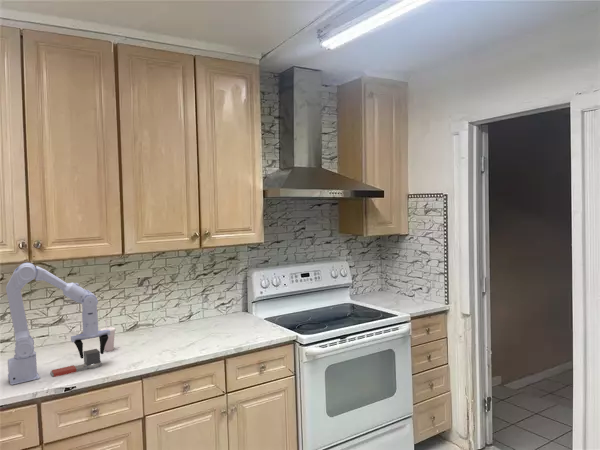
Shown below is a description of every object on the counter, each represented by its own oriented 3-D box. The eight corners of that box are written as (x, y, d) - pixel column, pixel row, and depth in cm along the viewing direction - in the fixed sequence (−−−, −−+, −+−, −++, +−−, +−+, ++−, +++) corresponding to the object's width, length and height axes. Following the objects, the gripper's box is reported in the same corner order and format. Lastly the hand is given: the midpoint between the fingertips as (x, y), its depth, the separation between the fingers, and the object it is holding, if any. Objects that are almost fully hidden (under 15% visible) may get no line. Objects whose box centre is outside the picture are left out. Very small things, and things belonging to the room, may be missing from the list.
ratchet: (52, 378, 177) (52, 367, 176) (49, 373, 182) (49, 363, 182) (102, 367, 188) (102, 356, 188) (98, 362, 193) (98, 352, 193)
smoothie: (99, 350, 209) (97, 319, 208) (113, 346, 213) (111, 316, 212) (104, 353, 204) (103, 322, 203) (119, 349, 208) (117, 319, 208)
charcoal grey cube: (87, 365, 185) (86, 354, 184) (84, 362, 189) (83, 351, 188) (100, 362, 188) (99, 351, 188) (97, 359, 192) (96, 348, 191)
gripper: (72, 328, 180) (74, 362, 180) (111, 321, 188) (113, 354, 189) (69, 324, 185) (70, 357, 186) (106, 318, 194) (108, 349, 195)
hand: (92, 355), depth 188 cm, fingers open, 7 cm apart
